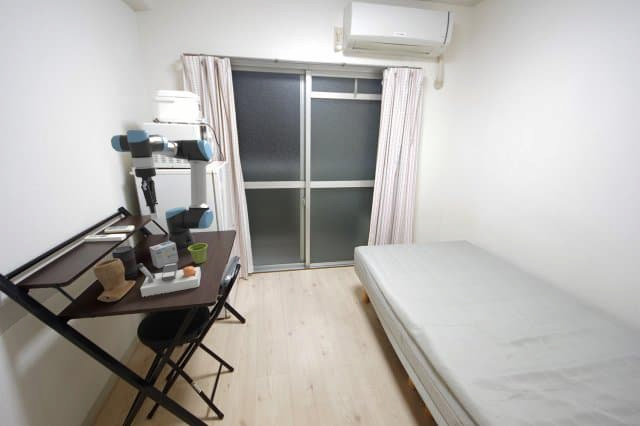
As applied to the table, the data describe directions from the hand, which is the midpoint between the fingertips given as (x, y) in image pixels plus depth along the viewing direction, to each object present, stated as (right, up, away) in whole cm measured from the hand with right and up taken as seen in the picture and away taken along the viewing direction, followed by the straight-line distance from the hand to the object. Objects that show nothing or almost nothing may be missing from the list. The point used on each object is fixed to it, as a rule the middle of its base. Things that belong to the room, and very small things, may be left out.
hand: (155, 219), depth 117 cm
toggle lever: (+1, -26, -4) cm, 27 cm away
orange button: (+15, -28, +2) cm, 32 cm away
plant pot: (+10, -24, +22) cm, 34 cm away
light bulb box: (-7, -24, +20) cm, 33 cm away
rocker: (+8, -24, -2) cm, 25 cm away
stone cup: (-13, -32, -6) cm, 36 cm away
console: (+8, -30, 0) cm, 31 cm away
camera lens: (-17, -29, +7) cm, 34 cm away
